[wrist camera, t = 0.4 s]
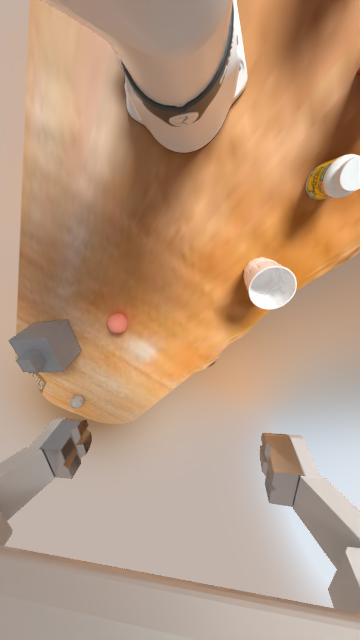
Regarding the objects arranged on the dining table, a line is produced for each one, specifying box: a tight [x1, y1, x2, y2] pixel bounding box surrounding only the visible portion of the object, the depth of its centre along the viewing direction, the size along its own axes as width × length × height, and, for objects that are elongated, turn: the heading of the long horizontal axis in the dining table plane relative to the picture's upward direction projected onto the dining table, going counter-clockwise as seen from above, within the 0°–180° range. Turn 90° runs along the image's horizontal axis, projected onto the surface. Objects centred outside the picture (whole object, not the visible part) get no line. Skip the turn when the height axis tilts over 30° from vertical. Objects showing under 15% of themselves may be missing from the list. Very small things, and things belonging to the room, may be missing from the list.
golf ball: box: [70, 395, 84, 408], centre depth 69 cm, size 4×4×4 cm
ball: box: [107, 313, 128, 334], centre depth 52 cm, size 5×5×5 cm
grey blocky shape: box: [9, 320, 82, 373], centre depth 54 cm, size 10×10×12 cm
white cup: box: [243, 257, 297, 309], centre depth 40 cm, size 8×8×10 cm
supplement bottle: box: [306, 154, 360, 200], centre depth 32 cm, size 5×5×10 cm
